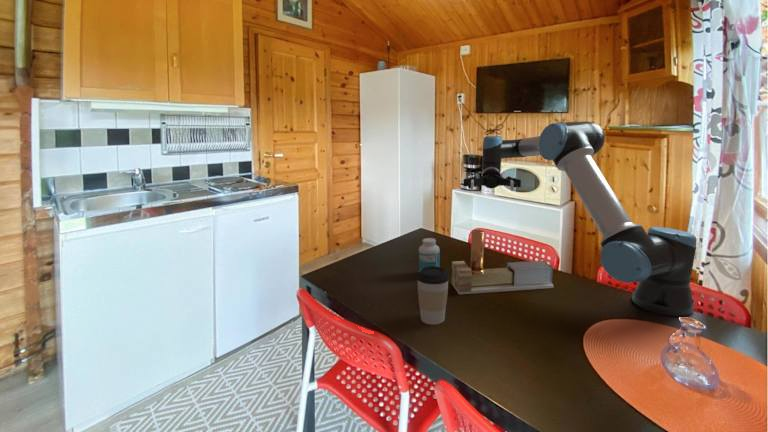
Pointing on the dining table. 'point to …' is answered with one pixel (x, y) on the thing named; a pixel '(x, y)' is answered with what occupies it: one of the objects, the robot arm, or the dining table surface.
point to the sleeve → (531, 273)
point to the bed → (502, 288)
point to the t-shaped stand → (478, 273)
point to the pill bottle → (429, 254)
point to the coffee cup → (432, 294)
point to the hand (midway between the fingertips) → (491, 186)
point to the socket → (461, 276)
